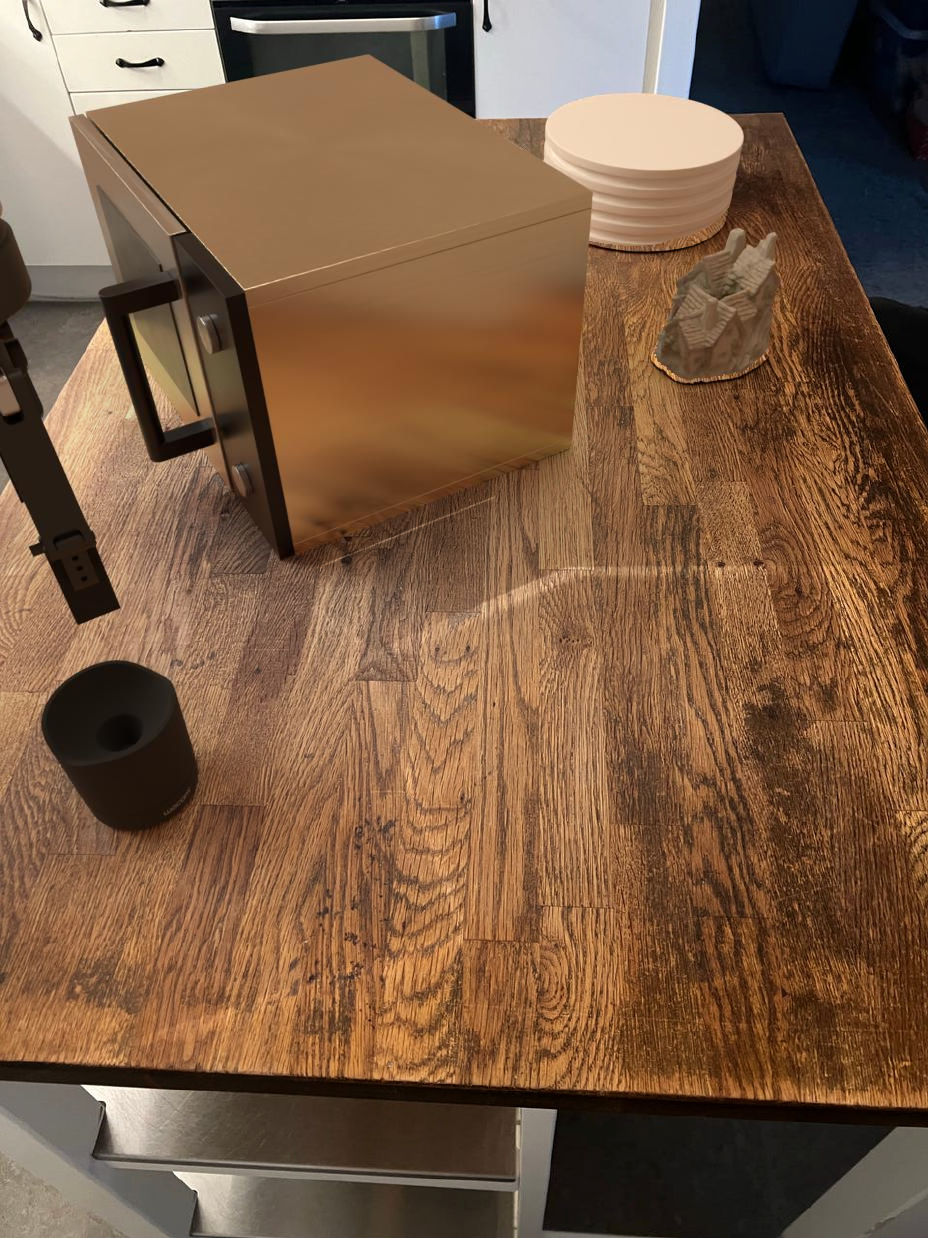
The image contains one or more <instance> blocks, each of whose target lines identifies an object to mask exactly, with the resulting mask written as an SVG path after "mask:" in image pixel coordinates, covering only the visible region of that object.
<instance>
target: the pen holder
mask: <svg viewBox="0 0 928 1238" xmlns="http://www.w3.org/2000/svg"><path fill="white" fill-rule="evenodd" d="M40 725H41V727H40V728H41V732H42V737H43V738H44V741H45V743H46V745H47V747H48V748H49V750H50V751H51V753H52V754H53V755H54V758H55V759H56V761H57V762H58V764H59V766H60V767H61V768H62V770H63V772H64V773H65V775H66V776H67V778H68V780H69V781H70V783H71V784H72V786H73V787H74V789H75V790H76V792H77V794H78V795H79V797H80V798H81V799H82V800H83V802H84V804H85V805H86V806H87V808H88V809H89V810H90V812H91V814H92V815H93V816H94V817H95V818H96V819H97V820H98V821H99V822H100V823H102V824H104V825H105V826H107V827H110V828H113V829H117V830H121V831H140V830H145V829H149V828H152V827H155V826H158V825H160V824H162V823H164V822H167V821H168V820H169V819H172V817H174V816H176V814H177V813H179V812H180V811H181V810H182V809H183V808H184V807H185V806H186V805H187V803H188V802H189V801H190V799H191V798H192V796H193V795H194V792H195V790H196V788H197V784H198V778H199V768H198V763H197V758H196V755H195V751H194V747H193V743H192V741H191V737H190V734H189V730H188V727H187V724H186V721H185V718H184V714H183V711H182V707H181V704H180V701H179V698H178V694H177V691H176V689H175V686H174V684H173V681H171V679H169V678H168V677H166V676H164V675H163V674H162V673H160V672H157V671H155V670H153V669H151V668H148V667H147V666H144V665H142V664H139V663H136V662H133V661H130V660H123V659H112V660H105V661H100V662H97V663H94V664H91V665H88V666H86V667H84V668H82V669H80V670H79V671H76V672H75V673H73V674H72V675H71V676H70V677H67V679H65V680H64V681H63V682H62V683H60V685H59V686H58V687H57V688H56V689H55V690H54V691H53V692H52V694H51V695H50V696H49V698H48V699H47V701H46V703H45V705H44V708H43V711H42V714H41V720H40Z"/></svg>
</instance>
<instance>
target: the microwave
mask: <svg viewBox="0 0 928 1238" xmlns="http://www.w3.org/2000/svg"><path fill="white" fill-rule="evenodd" d="M85 117H86V118H87V119H88V120H89V121H90V122H91V123H92V125H93V126H94V127H95V128H96V129H97V130H98V131H99V132H100V134H101V135H102V136H103V137H104V138H105V139H106V140H107V142H108V143H109V144H110V145H111V146H112V147H113V148H114V149H115V151H116V152H117V153H118V154H119V155H120V156H121V157H122V159H123V160H124V161H125V162H126V163H127V164H128V165H129V166H130V168H131V169H132V170H133V171H134V172H135V173H136V174H137V176H138V177H139V178H140V179H141V180H142V181H143V182H144V183H145V185H146V186H147V187H148V188H149V189H150V190H151V191H152V193H153V194H154V195H155V196H156V197H157V198H158V199H159V200H160V202H161V203H162V204H163V205H164V206H165V207H166V208H167V210H168V211H169V212H170V213H171V214H172V215H173V216H174V217H175V219H176V220H177V221H178V222H179V223H180V224H181V225H182V226H183V228H184V229H185V230H186V231H187V234H184V235H180V236H176V237H174V242H175V246H176V251H177V255H178V259H179V263H180V267H181V271H182V275H183V280H184V284H185V288H186V292H187V296H188V300H189V305H190V309H191V313H192V317H193V321H194V325H195V329H196V334H197V338H198V342H199V346H200V350H201V354H202V359H203V363H204V367H205V371H206V375H207V379H208V383H209V388H210V392H211V396H212V400H213V404H214V408H215V412H216V417H217V421H218V425H219V429H220V433H221V437H222V442H223V446H224V450H225V454H226V458H227V462H228V466H229V471H230V475H231V479H232V483H233V487H234V491H233V492H234V494H235V495H236V497H237V499H238V500H239V502H240V503H241V504H242V506H243V507H244V508H245V510H246V512H247V513H248V514H249V516H250V518H251V520H252V521H253V522H254V524H255V525H256V526H257V528H258V529H259V531H260V533H261V534H262V535H263V537H264V539H265V540H266V541H267V543H268V544H269V546H270V547H271V549H272V550H273V552H274V553H275V555H276V556H277V557H278V559H279V560H280V561H281V560H284V559H287V558H289V557H292V556H294V555H295V556H297V555H300V554H302V553H305V552H307V551H310V550H312V549H315V548H317V547H320V546H322V545H325V544H328V543H329V542H333V541H336V540H338V539H341V538H343V537H346V536H348V535H351V534H353V533H355V532H358V531H362V530H364V529H366V528H369V527H371V526H374V525H377V524H379V523H381V522H384V521H387V520H389V519H391V518H395V517H397V516H399V515H402V514H405V513H407V512H409V511H412V510H414V509H417V508H419V507H422V506H425V505H428V504H430V503H433V502H436V501H438V500H440V499H443V498H445V497H448V496H450V495H453V494H456V493H458V492H461V491H464V490H466V489H469V488H471V487H474V486H476V485H479V484H482V483H485V482H488V481H490V480H493V479H495V478H498V477H500V476H503V475H505V474H508V473H511V472H513V471H516V470H519V469H521V468H523V467H526V466H529V465H531V464H533V463H536V462H539V461H541V460H544V459H547V458H549V457H551V455H552V456H554V455H556V453H557V452H560V451H562V450H565V449H567V448H570V447H571V448H572V442H573V434H574V422H575V409H576V399H577V385H578V374H579V363H580V353H581V352H580V351H581V342H582V341H581V339H582V328H583V319H584V318H583V315H584V305H585V293H586V292H585V291H586V281H587V270H588V269H587V268H588V259H589V258H588V257H589V246H590V245H589V236H590V224H591V212H592V198H593V191H591V190H589V189H588V188H586V187H585V186H583V185H581V184H580V183H578V182H576V181H575V180H573V179H572V178H570V177H568V176H567V175H565V174H563V173H562V172H560V171H558V170H557V169H555V168H554V167H552V166H550V165H549V164H547V163H545V162H544V160H543V159H541V158H539V157H537V156H535V155H534V154H532V153H531V152H529V151H527V150H526V149H525V148H524V147H523V148H524V149H525V150H524V149H523V148H521V147H519V146H518V145H516V144H514V143H513V142H511V141H509V140H508V139H506V138H505V137H506V136H505V137H504V136H502V134H500V133H497V132H496V131H495V130H493V129H491V128H490V127H488V126H487V125H486V124H484V123H483V122H480V121H478V120H477V119H475V118H473V117H472V116H470V115H469V114H467V113H465V112H464V111H462V110H460V109H459V108H457V107H455V106H454V105H452V104H451V103H449V102H447V101H446V100H444V99H443V98H441V97H439V96H438V95H436V94H435V93H433V92H431V91H430V90H428V89H426V88H424V87H423V86H421V85H420V84H418V83H416V82H415V81H413V80H411V79H409V78H408V77H406V75H404V74H401V73H400V72H399V71H397V70H395V69H393V68H392V67H391V66H389V65H387V64H385V63H384V62H382V61H380V60H379V59H377V58H375V56H373V55H371V54H369V53H368V54H363V55H358V56H357V55H356V56H353V57H348V58H343V59H338V60H334V61H328V62H323V63H319V64H313V65H309V66H308V65H307V66H304V67H299V68H294V69H289V70H283V71H279V72H274V73H270V74H265V75H264V74H263V75H260V76H255V77H250V78H249V77H248V78H244V79H239V80H235V81H229V82H224V83H220V84H215V85H209V86H205V87H200V88H196V89H195V88H194V89H190V90H185V91H180V92H175V93H170V94H166V95H161V96H155V97H151V98H146V99H141V100H136V101H131V102H127V103H126V102H125V103H121V104H116V105H111V106H107V107H101V108H96V109H91V110H87V111H85ZM571 448H570V449H571ZM567 450H568V449H567ZM565 451H566V450H565ZM562 452H563V451H562ZM560 453H561V452H560ZM557 454H558V453H557Z"/></svg>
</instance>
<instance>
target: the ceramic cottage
mask: <svg viewBox="0 0 928 1238" xmlns="http://www.w3.org/2000/svg"><path fill="white" fill-rule="evenodd" d="M746 236H747V234H746V232H745V230H744V229H743V228H740V227H737V228H733V229H732V230H731V231H729V234H728V237H727V240H726V244H725V248H724V249H723V250H720V251H717V252H716V253H713V254H709V255H706V256H703V257H701V259H700V260H699V261H698V262H697V263H696V265H694V266H693V268H692V269H690V270H689V271H687V272H686V273H685V274H684V275H682V276H679V277H678V278H677V279H676V282H675V283H676V287H677V289H676V293H675V294H674V295H673V296H672V298H671V301H672V303H673V304H672V308H671V309H669V311H670V316H669V318H667V319H666V321H665V322H667V323H668V322H669V323H670V324H667V325H666V326H664V327H663V330H662V331H660V330H659V332H658V334H657V337H658V341H659V342H658V344H657V345H656V347H657V348H656V349H653V348H652V350H655V352H654V353H653V354H656V356H655V358H657V361H658V362H660V363H661V365H664V366H666V367H667V370H670V371H671V373H674V374H675V375H677V376H678V377H680V378H683V379H686V380H693V379H695V378H701V379H702V378H709V377H710V378H711V377H714V376H716V377H717V376H721V375H722V376H723V374H725V375H729V374H733V373H735V372H736V373H737V372H740V371H744V370H746V369H747V368H748V367H749V366H751V365H752V364H753V362H754V361H756V360H757V359H758V358H760V357H761V356H762V355H763V354H764V353H765V352H766V350H767V349H768V348H769V346H770V347H771V345H770V330H771V327H772V324H773V320H774V313H773V309H772V307H773V303H774V300H775V299H776V298H775V297H776V292H777V290H778V289H779V287H780V286H782V285H781V281H782V280H781V278H780V277H779V275H778V273H777V269H776V264H777V262H776V261H774V259H775V256H776V243H777V240H778V237H779V236H778V234H777V233H776V232H774V231H772V232H769V233H768V234H766V236H765V239H761V240H760V241H759V243H758V244H757V246H756V247H754V246H753V245H751V244H747V245H746V238H747V237H746ZM671 321H672V322H671Z"/></svg>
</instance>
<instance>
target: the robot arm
mask: <svg viewBox="0 0 928 1238" xmlns="http://www.w3.org/2000/svg"><path fill="white" fill-rule="evenodd" d="M2 215H3V204H2V202H1V200H0V461H1V462H2V465H3V467H4V469H5V471H6V473H7V475H8V477H9V480H10V482H11V484H12V486H13V489H14V491H15V492H16V494H17V497H18V499H19V501H20V503H21V504H23V503H24V505H25V507H26V509H27V513H28V514H29V516H30V518H31V520H32V522H33V525H34V527H35V529H36V532H37V534H38V535H39V536H38V538H37V540H38V542H37V543H34V544H32V545H29V546H28V549H29V550H30V553H31V556H32V557H33V558H35V557H38V556H41V555H45V559H46V561H47V562H48V565H49V567H50V569H51V571H52V573H53V575H54V577H55V580H56V581H57V584H58V586H59V589H60V590H61V593H62V596H63V597H64V599H65V601H66V603H67V606H68V608H69V610H70V612H71V614H72V616H73V619H74V621H75V623H76V625H77V626H80V625H82V624H85V623H87V622H90V621H93V620H95V619H97V618H100V617H103V616H105V615H108V614H110V613H112V612H115V611H118V610H120V609H122V607H121V604H120V602H119V600H118V597H117V595H116V592H115V590H114V587H113V585H112V582H111V579H110V577H109V575H108V573H107V572H108V571H107V570H106V567H105V565H104V562H103V560H102V557H101V556H100V552H99V550H98V548H97V544H98V542H97V537H96V534H95V532H94V530H93V529H91V528H90V525H89V523H88V521H87V520H86V518H85V514H84V513H83V511H82V508H81V506H80V504H79V502H78V499H77V497H76V495H75V493H74V489H73V488H72V485H71V483H70V481H69V478H68V475H67V474H66V472H65V469H64V467H63V465H62V463H61V460H60V458H59V455H58V453H57V451H56V448H55V446H54V444H53V442H52V439H51V437H50V435H49V433H48V430H47V428H46V426H45V423H44V421H43V418H44V415H45V411H44V405H43V402H42V401H41V399H40V396H39V394H38V392H37V390H36V387H35V385H34V383H33V381H32V379H31V376H30V374H29V362H28V358H27V356H26V353H25V352H24V349H23V347H22V345H21V343H20V340H19V338H18V337H15V336H14V332H13V330H12V328H11V326H10V324H9V322H8V319H10V318H11V317H14V316H15V315H17V314H18V313H19V312H20V311H22V309H23V308H24V307H25V305H26V304H27V303H28V302H29V299H30V297H31V294H32V291H33V290H32V289H33V285H32V280H31V277H30V274H29V271H28V268H27V266H26V262H25V261H24V257H23V255H22V253H21V250H20V247H19V244H18V242H17V239H16V236H15V234H14V230H13V229H12V226H11V225H10V223H9V222H7V221H6V220H5V219H3V218H2V217H1V216H2Z"/></svg>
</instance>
